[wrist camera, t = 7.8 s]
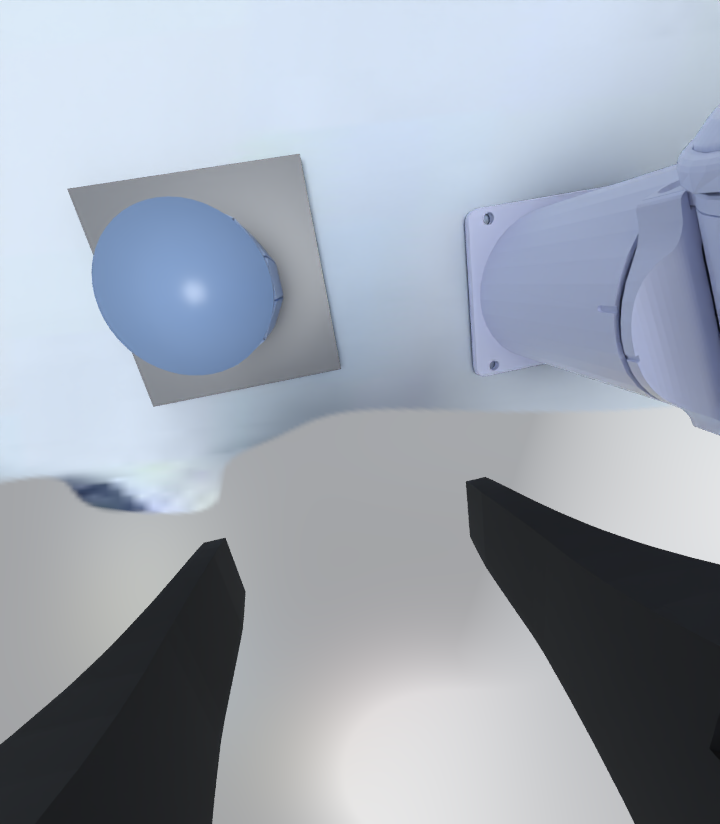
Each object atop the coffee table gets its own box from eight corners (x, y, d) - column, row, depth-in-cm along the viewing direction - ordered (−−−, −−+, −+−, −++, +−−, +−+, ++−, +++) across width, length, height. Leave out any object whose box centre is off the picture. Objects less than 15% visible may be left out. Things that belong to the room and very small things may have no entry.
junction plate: (299, 160, 15) (298, 122, 12) (339, 365, 18) (348, 384, 15) (79, 193, 15) (7, 164, 11) (159, 401, 18) (123, 430, 14)
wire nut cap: (265, 214, 15) (247, 183, 10) (293, 338, 17) (289, 358, 12) (137, 235, 15) (59, 212, 10) (180, 360, 16) (131, 389, 12)
